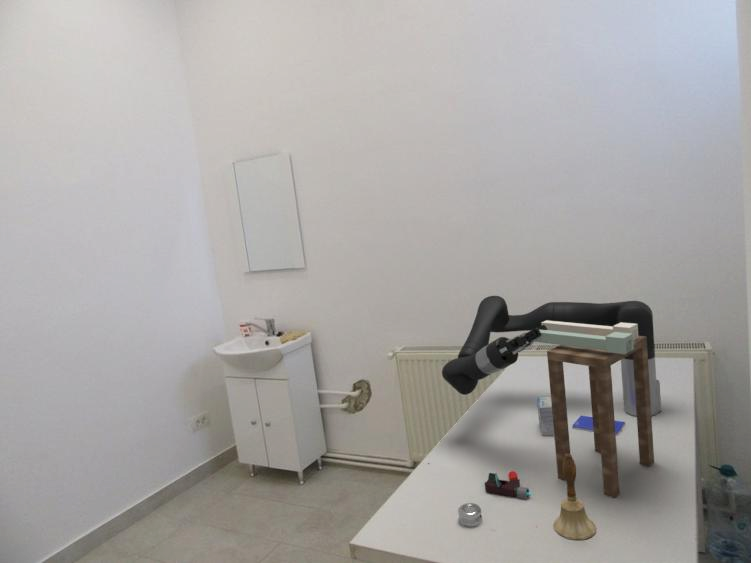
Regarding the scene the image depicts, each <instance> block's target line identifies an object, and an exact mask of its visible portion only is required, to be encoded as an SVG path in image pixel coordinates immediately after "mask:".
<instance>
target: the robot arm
mask: <svg viewBox="0 0 751 563" xmlns="http://www.w3.org/2000/svg"><path fill="white" fill-rule="evenodd" d="M653 315H654V314H653V311H652V309H651V308H650V306H649V305H648V304H646V303H645V302H643V301H640V300H627V301H618V302H606V303H605V302H603V303H602V302H601V303H594V302H576V301H574V302H569V301H551V302H547V303H544V304H542V305H540V306H539V307H537V308H534V310H532V311H530V312H528V313H524V314H515V315H512V314H511V315H510V314H509V309H508V305H507V303H506V300H505V298H503V297H502V296H499V295H490V296H487V297H484V298H482V300H481V301H480V303H479V305H478V308H477V312H476V315H475V318H474V321H473V324H472V327H471V329H470V331H469V334H468V337H467V338H466V340H465V341H464V343H463V346H462V347H461V349H460V351H459V353H458V355H457V358H453V359H451V360H449V361H448V362H446V363H445V364H444V366H443V367H442V369H441V375H442V378H443V379H444V380H445V381H446V383H448V385H450V386H451V387H452V388H453V389H454V390H455V391H457V393H459V394H461V395H464V396H467V395H469V394H471V393H473V392H474V390H475V389H476V387H477V385H478V384H479V383H478V382H479V381H480V380H483V379H485V378H487V377H488V376H491V375H493V374H495V373H498V372H500V371H502V370H504V369H505V368H507V367H510V366H511V365H514V364H515V363H516V362H517V360H518V359H519V353H521V352H523V351H524V350H526V348H528V347H530V346H532V345H533V344H534V342H533V341H532V340H534V339H536V338H538V337H540V336H541V332H540V331H539V329H540V330H548V329H547V328H546V326H545V325H542V326H541V322H544V321H546V320H547V321H558V322H569V323H580V324H591V325H602V326H612V327H613V326H614V325H616V324H619V323H621V322H622V323H634V324H638V336H646V337H647V352H648V368H649V384H650V401H651V417H652V416H654V415H657V414H658V413H659V412H660V413H661V412H662V404H661V403H662V401H661V400H662V399H661V385H660V384H661V382H660V380H659V379H657V370H656V351H655V350H656V349H655V348H656V347H655V335H654V334H655V333H654V318H653ZM512 332H513V333H514V332H523V333H521V334H519V335H516V336H514V337H512V338H508V337H507V336H506V337H505V336H500V337H497V338H496V339H494V340H493V341H491V342H490V338H491V333H512ZM620 366H621V368H620V369H621V370H620V371H621V381H622V382H621V383H622V396H623V397H622V399H623V400H622V401H623V411H624V412H625V413H626V414H628V415H631V416H635V417H637V412H636V397H635V381H634V366H633V353H632V354H630V355H628V356H626V357H625V358H623V359H621V360H620Z"/></svg>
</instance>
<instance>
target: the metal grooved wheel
mask: <svg viewBox="0 0 751 563" xmlns="http://www.w3.org/2000/svg"><path fill="white" fill-rule="evenodd" d="M457 512H458V513H457V514H458V521H459V524H460V525H461V526H463V527H466V528H475V527H478V526H480V525H481V524H482V522H483V516H482V509H481V507H480V505H478V504H476V503H473V502H467V503H463V504H461V505H460V506H459V507H458V509H457Z"/></svg>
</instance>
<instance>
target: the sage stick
mask: <svg viewBox="0 0 751 563" xmlns="http://www.w3.org/2000/svg"><path fill="white" fill-rule="evenodd" d="M539 331H540V332H541V336H540V337H538V338H536V339H534V340H532V341H533V343H542V344H549V345H550V344H551V345H557V346H560V345H565V346H572V347H580V348H588V349H596V350H604V351H607V352H611V353H618V354H626V353H628V352H630V351H632V350H633V349H634V345H633V334H632V333H621V332H613V333H611V334H609V335H607V336H598V335H589V334H579V333H570V332H560V331H550V330H540V329H539Z"/></svg>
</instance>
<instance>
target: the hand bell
mask: <svg viewBox="0 0 751 563" xmlns="http://www.w3.org/2000/svg"><path fill="white" fill-rule="evenodd" d="M563 474H564V478H565V480H566V481H565V482H566V496H567V498H564V499H563V500H562V501H561V502H560V514H559V516H558V517H557V518H555V520H554V522H553V526H552V527H553V529H554V531H555V532H556V533H557V534H558V535H559V536H561V537H563V538H566V539H570V540H574V541H576V540H579V541H582V540H587V539H590V538H591V537H593V536H594V535H595V534H596V532H597V526H596V525H595V523H594V521H592V520H591V519H590V518H589V517H588V514H587V513H586V508H585V505H584V503H583V501H582V500H580V499H578V498H577V492H576V485H575V484H576V483H575V482H576V479H577V466H576V462H575V460H574V458H573V455H572V453H570V454H565V458H564V461H563Z"/></svg>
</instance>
